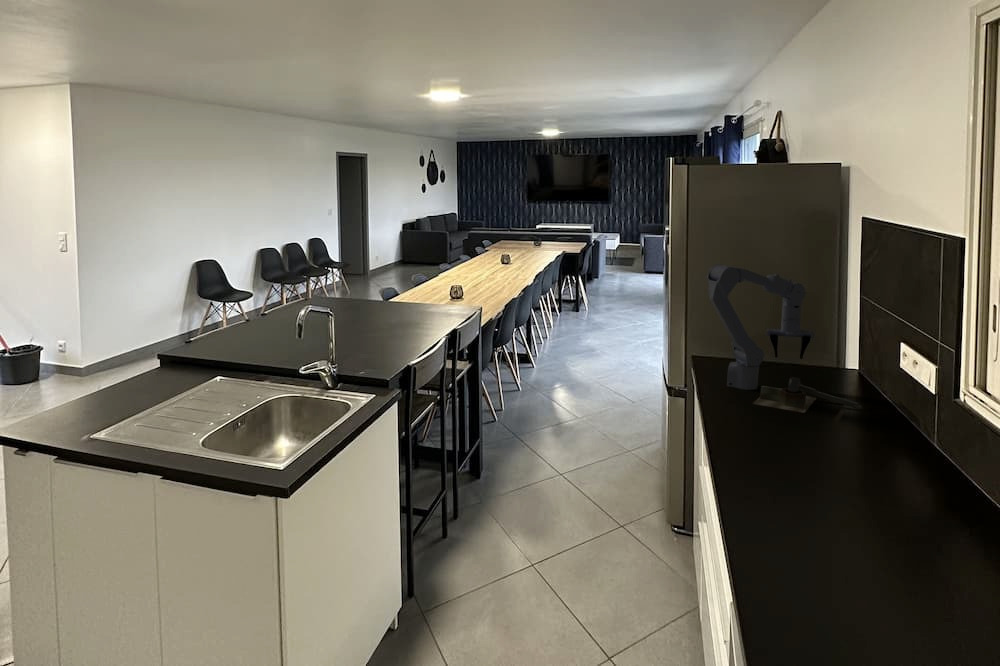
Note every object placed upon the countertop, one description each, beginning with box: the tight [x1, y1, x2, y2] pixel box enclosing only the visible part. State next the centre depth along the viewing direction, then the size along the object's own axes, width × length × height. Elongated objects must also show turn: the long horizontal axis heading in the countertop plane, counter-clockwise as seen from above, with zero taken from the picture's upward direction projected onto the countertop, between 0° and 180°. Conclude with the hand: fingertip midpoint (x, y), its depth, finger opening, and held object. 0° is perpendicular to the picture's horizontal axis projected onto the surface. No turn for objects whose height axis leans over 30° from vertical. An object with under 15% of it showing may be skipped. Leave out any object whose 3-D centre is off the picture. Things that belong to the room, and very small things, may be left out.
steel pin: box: [787, 376, 801, 394], centre depth 200 cm, size 3×3×8 cm
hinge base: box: [752, 383, 817, 413], centre depth 203 cm, size 15×17×5 cm
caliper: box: [799, 380, 863, 409], centre depth 201 cm, size 20×1×6 cm, turn 59°
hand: (788, 357), depth 218 cm, fingers open, 7 cm apart
